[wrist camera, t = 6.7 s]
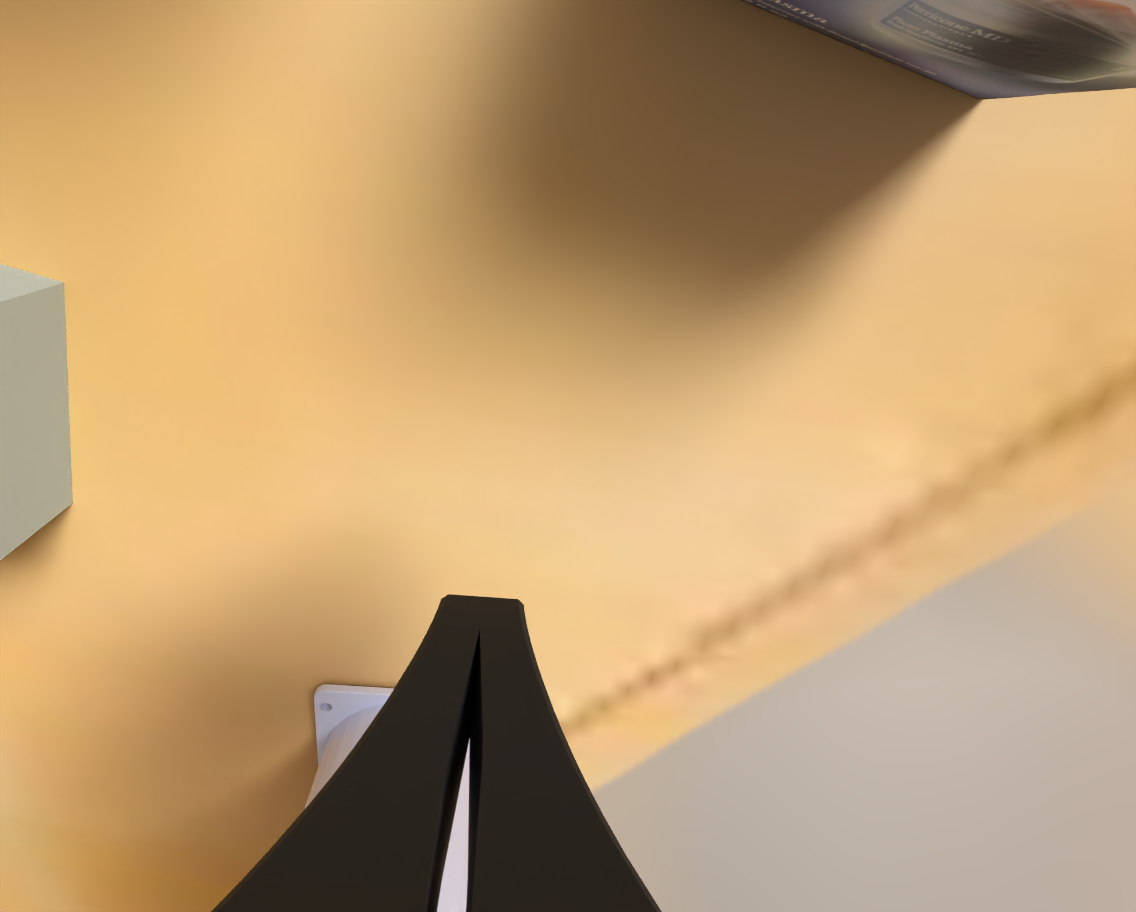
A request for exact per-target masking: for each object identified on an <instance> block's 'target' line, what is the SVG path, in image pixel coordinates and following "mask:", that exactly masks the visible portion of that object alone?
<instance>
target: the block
mask: <svg viewBox="0 0 1136 912" xmlns="http://www.w3.org/2000/svg"><path fill="white" fill-rule="evenodd" d="M72 503H73V500H72V475H71V449H70V424H69V398H68V373H67V347H66V322H65V296H64V282H61V281H57V280H54V279H50V278H47V277H44V276H40V275H37V274H33V273H30V272H27V271H23V270H20V269H17V268H13V267H10V266H6V265H3V264H0V560H2V559H3V558H4V557H5V556H7V555H8V554H9V553H10V552H12V551H13V550H14V549H15V548H17V547H18V546H19V545H20V544H22V543H23V542H24V541H25V540H27V539H28V538H29V537H31V536H32V535H33V534H34V533H36V532H37V531H38V530H39V529H41V528H42V527H43V526H44V525H46V524H47V523H48V522H49V521H51V520H52V519H53V518H54V517H56V516H57V515H58V514H60V513H61V512H62V511H63V510H65V509H66V508H67V507H68V506H70V505H71V504H72Z"/></svg>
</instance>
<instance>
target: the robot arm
mask: <svg viewBox="0 0 1136 912" xmlns="http://www.w3.org/2000/svg"><path fill="white" fill-rule="evenodd" d="M314 710H315V725H316V740H317V755H318V770H317V773H316V776H315V779H314V782H313V785H312V788H311V791H310V794H309V796H308V799H307V802H306V805H305V808H304V811H303V812H302V813H301V814H300V815H299V817H298V818H297V819H296V820H295V821H294V822H293V824H292V825H291V826H290V827H289V828H288V829H287V830H286V832H285V833H284V834H283V835H282V836H281V837H280V839H279V840H278V841H277V842H276V843H275V844H274V845H273V847H272V848H271V849H270V850H269V851H268V852H267V853H266V854H265V856H264V857H263V858H262V859H261V860H260V861H259V862H258V863H257V864H256V865H255V867H254V868H253V869H252V870H251V871H250V872H249V873H248V874H247V875H246V876H245V877H244V878H243V879H242V881H241V882H240V883H239V884H238V885H237V886H236V887H235V888H234V889H233V890H232V891H231V892H230V893H229V894H228V895H227V896H226V897H225V898H224V899H223V900H222V901H221V902H220V903H219V904H218V905H217V906H216V907H215V908H214V909H213V910H212V911H211V912H661V910H660V909H659V907H658V905H657V904H656V902H655V901H654V899H653V898H652V896H651V894H650V893H649V891H648V889H647V888H646V886H645V885H644V883H643V881H642V880H641V878H640V877H639V875H638V874H637V872H636V870H635V869H634V867H633V866H632V864H631V862H630V861H629V859H628V858H627V856H626V855H625V853H624V851H623V849H622V848H621V846H620V844H619V842H618V841H617V839H616V837H615V835H614V834H613V832H612V830H611V828H610V826H609V825H608V823H607V821H606V819H605V818H604V816H603V814H602V812H601V810H600V808H599V806H598V804H597V803H596V801H595V799H594V797H593V795H592V793H591V791H590V789H589V787H588V785H587V783H586V781H585V779H584V777H583V775H582V773H581V771H580V769H579V767H578V765H577V763H576V760H575V758H574V756H573V754H572V752H571V749H570V747H569V745H568V743H567V740H566V738H565V736H564V734H563V731H562V729H561V727H560V724H559V722H558V719H557V717H556V714H555V712H554V710H553V707H552V704H551V701H550V699H549V696H548V693H547V691H546V688H545V685H544V683H543V680H542V677H541V674H540V671H539V668H538V665H537V662H536V658H535V655H534V652H533V648H532V645H531V641H530V637H529V633H528V629H527V624H526V619H525V613H524V605H523V604H522V603H521V602H520V601H519V600H518V599H507V598H492V597H478V596H463V595H449V594H448V595H447V596H445V597H444V598H442V599H441V601H440V604H439V607H438V610H437V612H436V614H435V617H434V619H433V621H432V623H431V625H430V627H429V629H428V631H427V633H426V635H425V637H424V639H423V641H422V643H421V645H420V646H419V648H418V650H417V652H416V654H415V655H414V657H413V659H412V660H411V662H410V664H409V665H408V667H407V669H406V670H405V672H404V674H403V675H402V677H401V679H400V680H399V682H398V683H397V685H396V687H395V688H380V687H364V686H348V685H331V684H325V685H321V686H319V687H318V688H317V689H316V692H315V694H314Z"/></svg>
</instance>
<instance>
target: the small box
mask: <svg viewBox="0 0 1136 912" xmlns="http://www.w3.org/2000/svg"><path fill="white" fill-rule="evenodd" d="M742 1H745V2H747V3H749V4H752V5H754V6H756V7H759V8H761V9H764V10H766V11H768V12H770V13H772V14H775V15H778V16H781V17H783V18H785V19H787V20H790V21H792V22H795V23H798V24H800V25H802V26H804V27H807V28H809V29H811V30H814V31H816V32H819V33H821V34H824V35H826V36H829V37H831V38H833V39H835V40H838V41H840V42H842V43H845V44H847V45H850V46H852V47H855V48H857V49H859V50H862V51H865V52H867V53H870V54H872V55H874V56H876V57H879V58H881V59H884V60H886V61H889V62H891V63H893V64H896V65H898V66H901V67H903V68H905V69H908V70H910V71H913V72H915V73H917V74H920V75H922V76H924V77H927V78H929V79H931V80H934V81H936V82H939V83H941V84H944V85H947V86H949V87H952V88H954V89H956V90H959V91H961V92H963V93H966V94H969V95H971V96H973V97H975V98H977V99H996V98H1011V97H1022V96H1034V95H1044V94H1058V93H1068V92H1084V91H1100V90H1113V89H1125V88H1136V0H742Z"/></svg>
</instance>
